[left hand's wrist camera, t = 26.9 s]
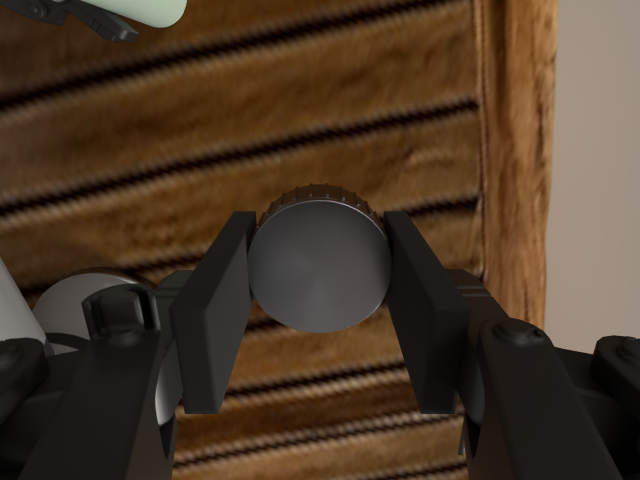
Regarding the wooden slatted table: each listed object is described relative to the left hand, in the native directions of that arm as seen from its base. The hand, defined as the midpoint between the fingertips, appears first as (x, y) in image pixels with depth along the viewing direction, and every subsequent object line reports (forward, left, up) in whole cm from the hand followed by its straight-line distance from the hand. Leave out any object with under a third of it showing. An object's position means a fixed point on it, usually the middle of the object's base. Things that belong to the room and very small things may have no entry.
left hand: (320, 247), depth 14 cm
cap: (0, 0, +2) cm, 2 cm away
